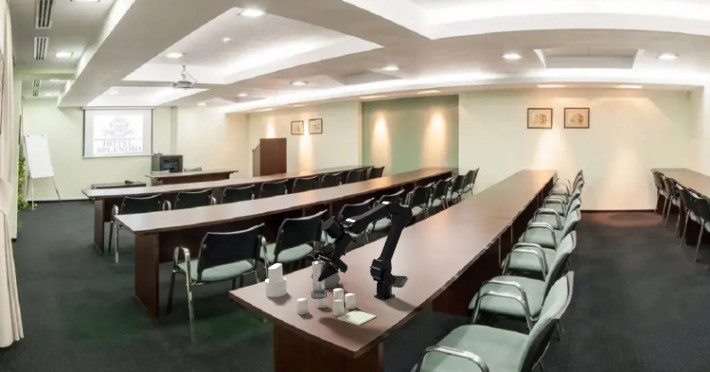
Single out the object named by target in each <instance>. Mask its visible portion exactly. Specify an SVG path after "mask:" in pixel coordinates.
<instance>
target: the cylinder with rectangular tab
mask: <svg viewBox="0 0 710 372" xmlns="http://www.w3.org/2000/svg"><path fill="white" fill-rule="evenodd" d="M267 272H268V273H267V275H268V277H267V278H266V279H265V280H264V282H265V283H264V285H265V296H266V297H269V298H279V297H282V296H285V295H287V294H288V290H287V286H288V285H287V278H286V277H284V276H283V264H282V263H274V264H273V265H270V267H268V268H267Z"/></svg>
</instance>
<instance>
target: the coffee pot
mask: <svg viewBox="0 0 710 372" xmlns="http://www.w3.org/2000/svg"><path fill="white" fill-rule="evenodd" d="M330 262H331V261H330ZM340 280H341V277H340V276H339V273H336V274H334V275H332V276H330V277H328V278H326V279H325V289H330V288H335V287H336V286H337V285H338V284H339V283H340Z"/></svg>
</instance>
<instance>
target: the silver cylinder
mask: <svg viewBox="0 0 710 372" xmlns="http://www.w3.org/2000/svg"><path fill="white" fill-rule="evenodd" d="M311 267H312V269H311V270H312V274H311V276H312V275H313V279H312V290H311V291H310V297H311V299H314V300H316V299H323V298H326V299H327V298H328V290H326V288H325V279H324V280H323V281H321V282H319V281H318V278H319V277H320V275H321V273H322V272H323V270H324V261H315V260H314V261H312V262H311Z"/></svg>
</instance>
